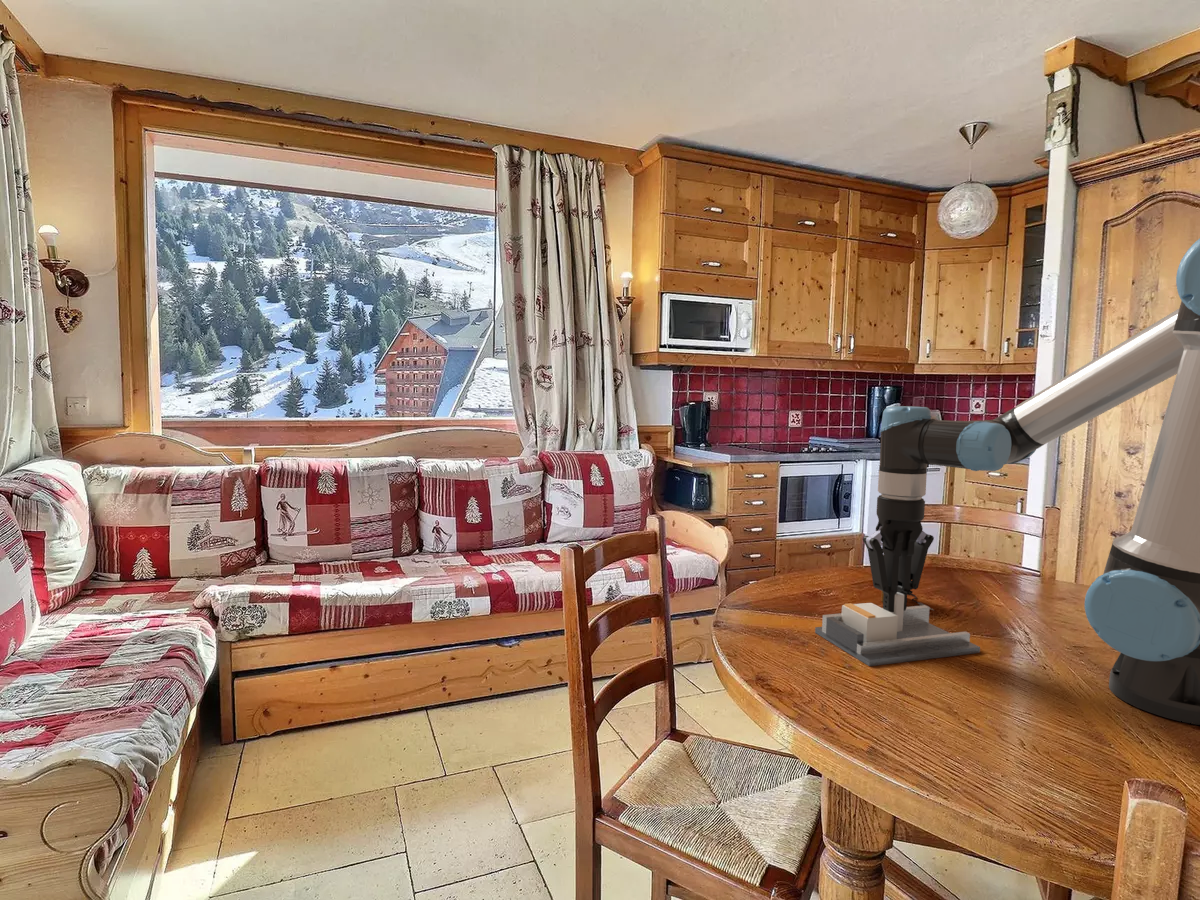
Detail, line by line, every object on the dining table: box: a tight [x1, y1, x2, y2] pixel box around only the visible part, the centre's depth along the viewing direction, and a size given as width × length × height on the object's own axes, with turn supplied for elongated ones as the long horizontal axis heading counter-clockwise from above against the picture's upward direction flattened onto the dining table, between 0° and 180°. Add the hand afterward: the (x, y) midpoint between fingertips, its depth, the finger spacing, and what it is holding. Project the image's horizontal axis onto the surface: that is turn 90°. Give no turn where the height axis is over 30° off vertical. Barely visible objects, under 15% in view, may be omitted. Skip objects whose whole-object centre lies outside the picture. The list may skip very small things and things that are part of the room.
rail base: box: [814, 604, 981, 667], centre depth 117 cm, size 15×22×4 cm
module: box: [841, 602, 898, 643], centre depth 116 cm, size 7×6×5 cm
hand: (893, 628), depth 117 cm, fingers closed
